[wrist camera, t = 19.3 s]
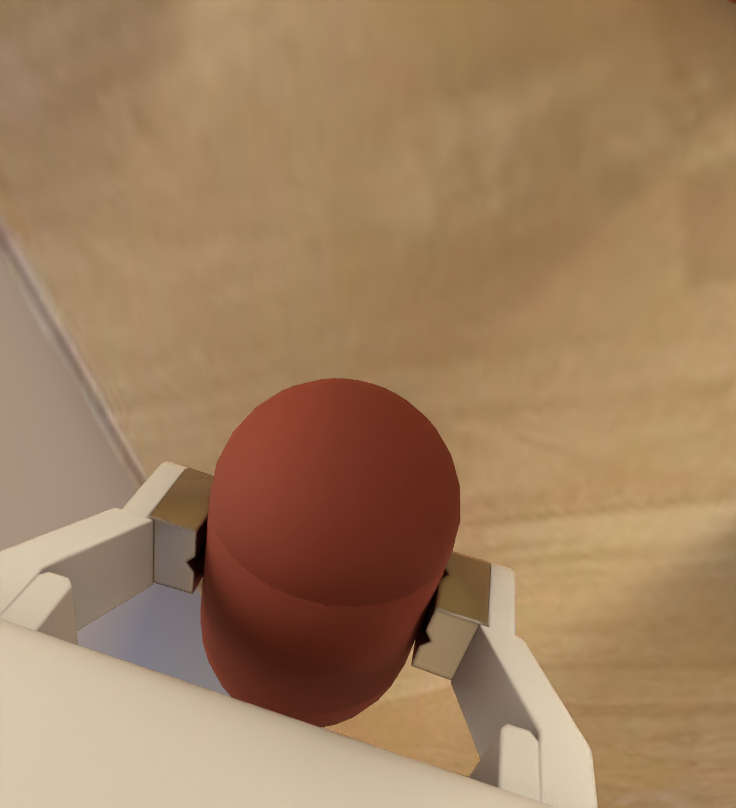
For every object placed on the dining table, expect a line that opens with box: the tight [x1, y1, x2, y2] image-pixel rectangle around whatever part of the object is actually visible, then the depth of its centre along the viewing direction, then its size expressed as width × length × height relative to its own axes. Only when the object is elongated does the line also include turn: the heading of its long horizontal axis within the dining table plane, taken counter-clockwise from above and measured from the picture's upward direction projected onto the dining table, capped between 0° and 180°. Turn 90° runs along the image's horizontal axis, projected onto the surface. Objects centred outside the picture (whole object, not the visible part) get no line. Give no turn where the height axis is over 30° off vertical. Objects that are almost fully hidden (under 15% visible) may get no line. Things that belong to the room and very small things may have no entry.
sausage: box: [201, 378, 460, 727], centre depth 12 cm, size 8×5×5 cm, turn 168°
